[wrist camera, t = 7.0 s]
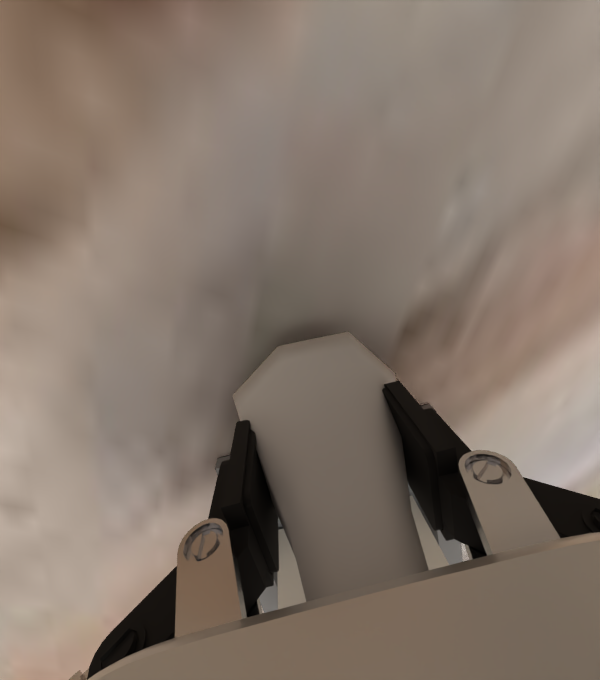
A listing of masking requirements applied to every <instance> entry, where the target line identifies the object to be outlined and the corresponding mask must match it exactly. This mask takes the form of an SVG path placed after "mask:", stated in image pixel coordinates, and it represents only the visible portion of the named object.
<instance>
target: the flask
mask: <svg viewBox="0 0 600 680" xmlns="http://www.w3.org/2000/svg"><path fill="white" fill-rule="evenodd" d="M395 381H396V376H395V373H394V372H393V371H392V370H391V369H390V368H389V367H387V366H386V365H385V364H384V363H383V362H382V361H381V360H380V359H379V358H377V357H376V356H375V355H374V354H373V353H372V352H371V351H370V350H369V349H367V348H366V347H365V346H364V345H363V344H362V343H361V342H360V341H359V340H357V339H356V338H355V337H354V336H353V335H352V334H351V333H350V332H349V331H348V332H343V333H338V334H333V335H329V336H324V337H319V338H314V339H309V340H305V341H300V342H295V343H290V344H285V345H281V346H278V347H277V348H276V349H275V350H274V351H273V352H272V353H271V354H270V355H269V356H268V357H267V358H266V360H265V361H264V362H263V363H262V364H261V365H260V366H259V367H258V368H257V369H256V370H255V371H254V373H253V374H252V375H251V376H250V377H249V378H248V379H247V380H246V381H245V382H244V383H243V384H242V386H241V387H240V388H239V389H238V390H237V391H236V392H235V393H234V394H233V395H232V396H233V399H234V402H235V406H236V409H237V412H238V416H239V419H240V421H243V420H249V421H250V429H251V430H252V431H254V432H255V437H256V450H257V453H258V457H259V460H260V463H261V466H262V470H263V473H264V476H265V479H266V483H267V486H268V489H269V492H270V496H271V499H272V502H273V505H274V507H275V510H276V512H277V514H278V517H279V519H280V522H281V524H282V527H283V529H284V531H285V534H286V536H287V539H288V541H289V544H290V546H291V548H292V551H293V553H294V556H295V558H296V562H297V566H298V570H299V574H300V578H301V582H302V586H303V590H304V594H305V598H306V602H308V601H312V600H315V599H319V598H323V597H327V596H331V595H335V594H339V593H342V592H346V591H350V590H354V589H358V588H362V587H366V586H369V585H373V584H377V583H381V582H385V581H389V580H393V579H397V578H401V577H405V576H408V575H412V574H416V573H420V572H424V571H428V570H429V569H428V565H427V562H426V559H425V555H424V552H423V548H422V545H421V541H420V538H419V535H418V531H417V528H416V524H415V521H414V517H413V514H412V511H411V503H410V496H409V488H408V481H407V474H406V466H405V459H404V451H403V444H402V437H401V434H400V432H399V430H398V427H397V425H396V422H395V420H394V418H393V415H392V413H391V411H390V408H389V406H388V403H387V401H386V399H385V396H384V394H383V392H382V389H383V388H385V387H384V384H387V383H391V382H395Z"/></svg>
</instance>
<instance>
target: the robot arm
mask: <svg viewBox="0 0 600 680" xmlns="http://www.w3.org/2000/svg"><path fill="white" fill-rule="evenodd" d="M384 387H385V388H383V389H382V392H383V394H384V396H385V399H386V401H387V403H388V406H389V408H390V411H391V413H392V415H393V418H394V420H395V422H396V425H397V427H398V430H399V432H400V434H401V437H402V444H403V451H404V459H405V466H406V474H407V481H408V484H409V486H410V488H411V489H412V491H413V493H414V495H415V497H416V499H417V500H418V502H419V504H420V506H421V508H422V510H423V512H424V513H425V515H426V517H427V519H428V521H429V523H430V524H431V526H432V528H433V529H434V531H437V530H440V531H441V533H442V535H443V537H444V538H445V540H446V541H449V540H453V539H455V540H457V541H459V542H461V543H464V544H465V547H466V550H467V553H468V556H469V560H468V561H464V562H460V563H456V564H452V565H448V566H444V567H440V568H436V569H432V570H428V571H424V572H420V573H416V574H412V575H408V576H405V577H401V578H397V579H393V580H389V581H385V582H381V583H377V584H373V585H369V586H366V587H362V588H358V589H354V590H350V591H346V592H342V593H339V594H335V595H331V596H327V597H323V598H319V599H315V600H312V601H308V602H304V603H300V604H297V605H293V606H289V607H285V608H281V609H278V610H274V611H270V612H266V613H262V609H261V604H260V600H259V597H260V595H261V594H262V593H263V591H264V590H265V589H266V588H267V587H270V586H274V572H278V571H279V539H278V514H277V512H276V510H275V507H274V505H273V502H272V499H271V496H270V492H269V489H268V486H267V483H266V479H265V476H264V473H263V470H262V466H261V463H260V460H259V457H258V453H257V450H256V437H255V432H254V431H252V430H251V429H250V421H249V420H243V421H239V422H237V423H236V428H235V433H234V439H233V444H232V449H231V455H230V459H229V460H225V461H222V462H221V465H220V468H219V473H218V477H217V482H216V486H215V491H214V495H213V500H212V504H211V509H210V513H209V518H208V519H207V520H204V521H202V522H200V523H198V524H197V525H195V526H194V527H193V528H192V529H191V530H189V531H188V532H187V534H186V535H185V536H184V538H183V539H182V541H181V543H180V545H179V548H178V553H177V566H176V567H175V568H174V569H173V570H172V571H171V572H170V573H169V574H168V575H167V576H166V577H165V578H164V579H163V580H162V581H161V582H160V583H159V584H158V585H157V586H156V587H155V588H154V589H153V590H152V591H151V592H150V593H149V594H148V595H147V596H146V597H145V598H144V599H143V600H142V601H141V602H140V603H139V604H138V605H137V606H136V607H135V608H134V609H133V610H132V611H131V612H130V614H129V615H128V616H127V617H126V618H125V619H124V620H123V621H122V622H121V623H120V624H119V625H118V626H117V627H116V628H115V629H114V630H113V631H112V632H111V633H110V634H109V635H108V636H107V637H106V639H105V640H104V641H103V642H102V644H101V645H100V647H99V648H98V650H97V652H96V653H95V655H94V657H93V660H92V662H91V664H90V667H89V669H88V670H87V671H85V672H84V673H83V674H82V672H81V671H80V670H79V671H78V672H77V673H75V674H74V675H73V676H72V677H71V678H70V679H69V680H600V499H597V498H594V497H590V496H587V495H583V494H580V493H576V492H573V491H569V490H566V489H562V488H559V487H555V486H552V485H548V484H545V483H541V482H538V481H534V480H531V479H527V478H524V477H522V475H521V474H520V472H519V471H518V469H517V467H516V466H515V465H514V464H513V463H512V461H511V460H509V459H508V458H506V457H505V456H503V455H500V454H498V453H496V452H491V451H487V450H476V451H471V450H470V449H469V448H468V447H467V446H466V445H465V444H464V442H463V441H462V440H461V439H460V438H459V437H458V436H457V435H456V434H455V433H454V432H453V430H452V429H451V428H450V427H449V426H448V425H447V424H446V423H445V422H444V421H443V419H442V418H441V417H440V416H439V415H438V414H437V413H436V412H435V411H434V410H433V409H432V408H428V409H423V408H422V407H421V406H420V405H419V404H418V402H417V401H416V400H415V399H414V398H413V397H412V395H411V394H410V393H409V392H408V391H407V390H406V388H405V387H404V386H403V385H402V384H401V383H400V381H395V382H391V383H387V384H384Z"/></svg>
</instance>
